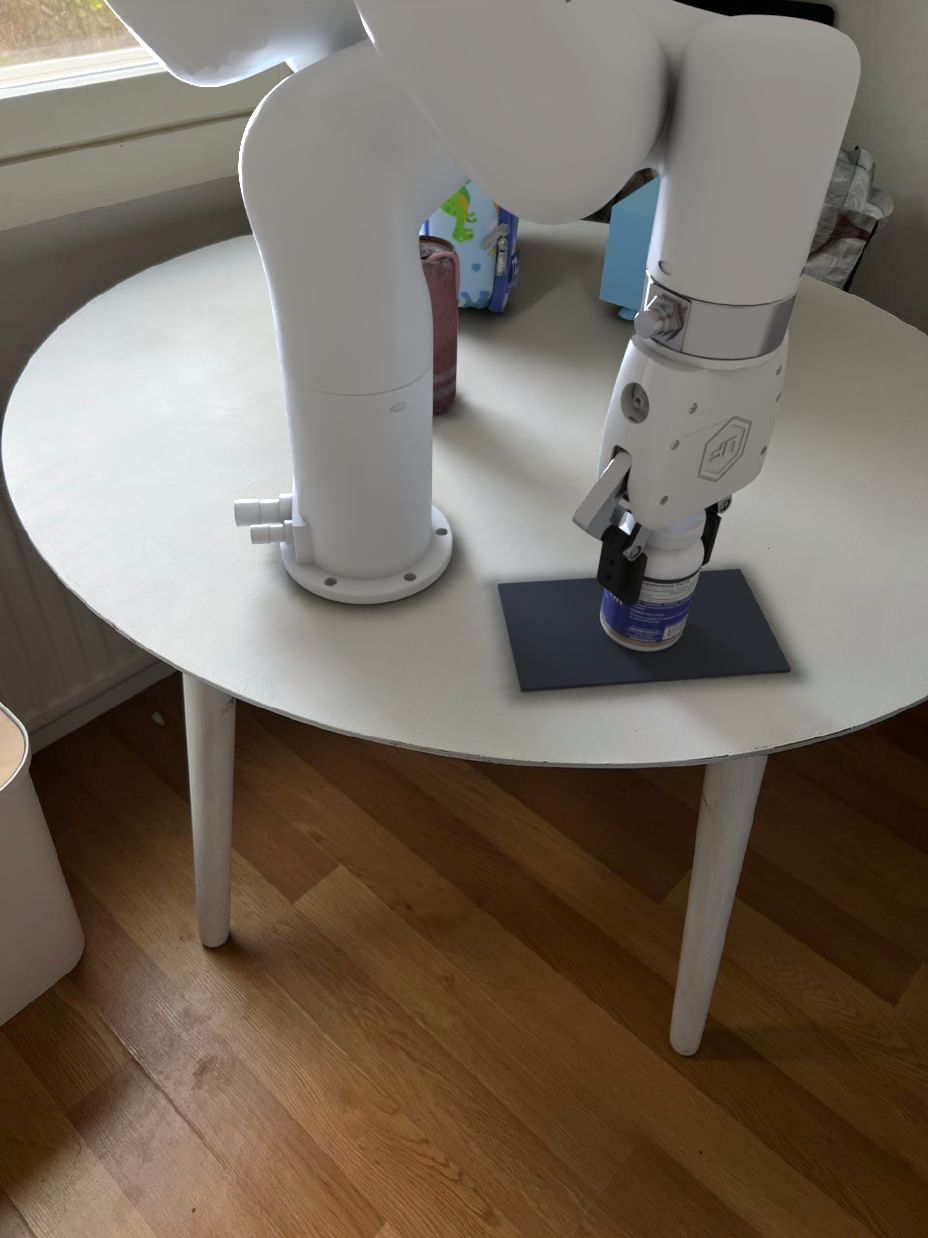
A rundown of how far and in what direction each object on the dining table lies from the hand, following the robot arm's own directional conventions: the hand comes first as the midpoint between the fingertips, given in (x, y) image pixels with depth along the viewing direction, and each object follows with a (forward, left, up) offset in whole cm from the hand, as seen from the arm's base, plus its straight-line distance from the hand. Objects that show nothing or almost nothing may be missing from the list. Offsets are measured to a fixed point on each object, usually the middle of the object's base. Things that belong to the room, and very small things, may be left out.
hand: (653, 570), depth 59 cm
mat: (0, 0, -5) cm, 5 cm away
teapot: (+18, +44, -5) cm, 48 cm away
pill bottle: (0, 0, -5) cm, 5 cm away
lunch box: (-6, +56, -5) cm, 57 cm away
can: (-12, +30, -5) cm, 33 cm away
